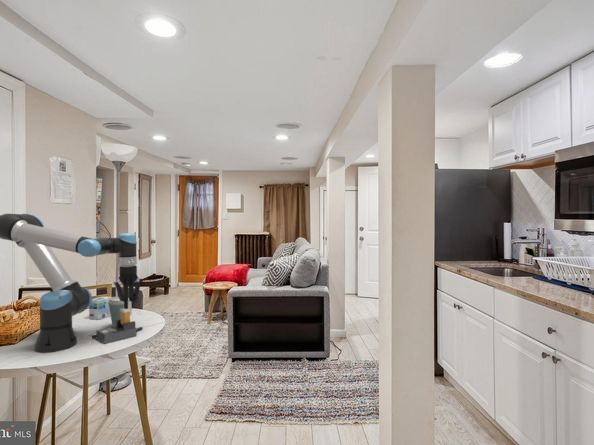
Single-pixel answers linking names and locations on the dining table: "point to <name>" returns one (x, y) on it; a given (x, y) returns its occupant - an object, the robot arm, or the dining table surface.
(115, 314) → the disposable coffee cup
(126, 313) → the lever
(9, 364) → the dining table surface
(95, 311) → the light bulb box
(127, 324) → the labelled grey housing
